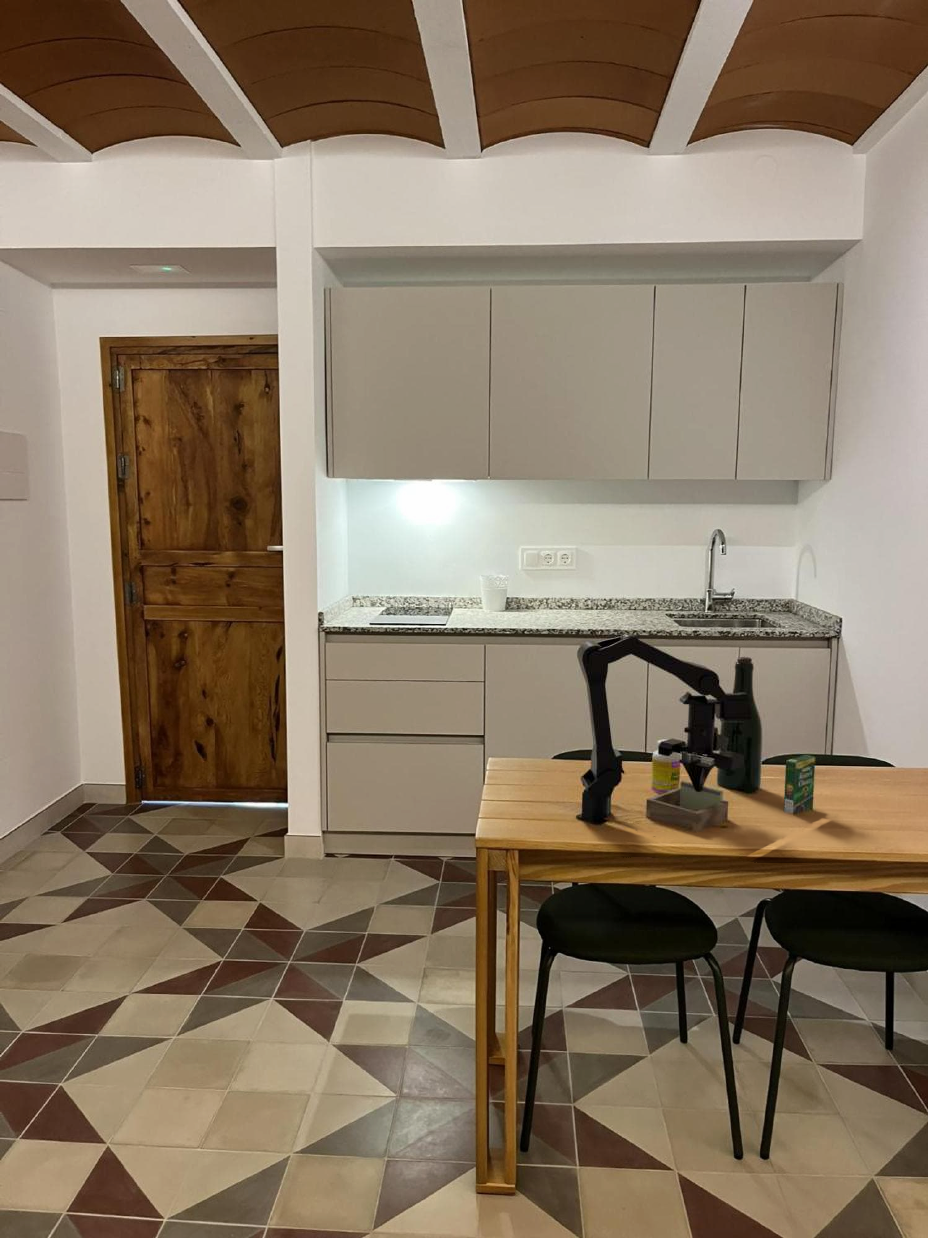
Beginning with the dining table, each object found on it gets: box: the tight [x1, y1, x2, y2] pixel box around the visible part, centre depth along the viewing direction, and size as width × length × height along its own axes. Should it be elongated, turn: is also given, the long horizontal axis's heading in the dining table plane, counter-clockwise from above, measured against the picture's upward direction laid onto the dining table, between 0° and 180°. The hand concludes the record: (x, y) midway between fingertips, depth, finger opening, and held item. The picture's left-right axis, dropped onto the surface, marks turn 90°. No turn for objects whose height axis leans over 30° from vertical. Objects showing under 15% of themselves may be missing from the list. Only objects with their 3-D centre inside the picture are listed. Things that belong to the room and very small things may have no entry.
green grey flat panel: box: [679, 780, 724, 812], centre depth 204 cm, size 1×10×6 cm, turn 43°
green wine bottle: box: [716, 656, 763, 795], centre depth 224 cm, size 10×10×33 cm
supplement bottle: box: [650, 739, 681, 794], centre depth 220 cm, size 7×7×13 cm
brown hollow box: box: [645, 787, 729, 833], centre depth 201 cm, size 12×13×5 cm
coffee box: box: [783, 754, 816, 815], centre depth 206 cm, size 8×3×13 cm, turn 127°
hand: (698, 791), depth 203 cm, fingers closed, pressing on green grey flat panel
